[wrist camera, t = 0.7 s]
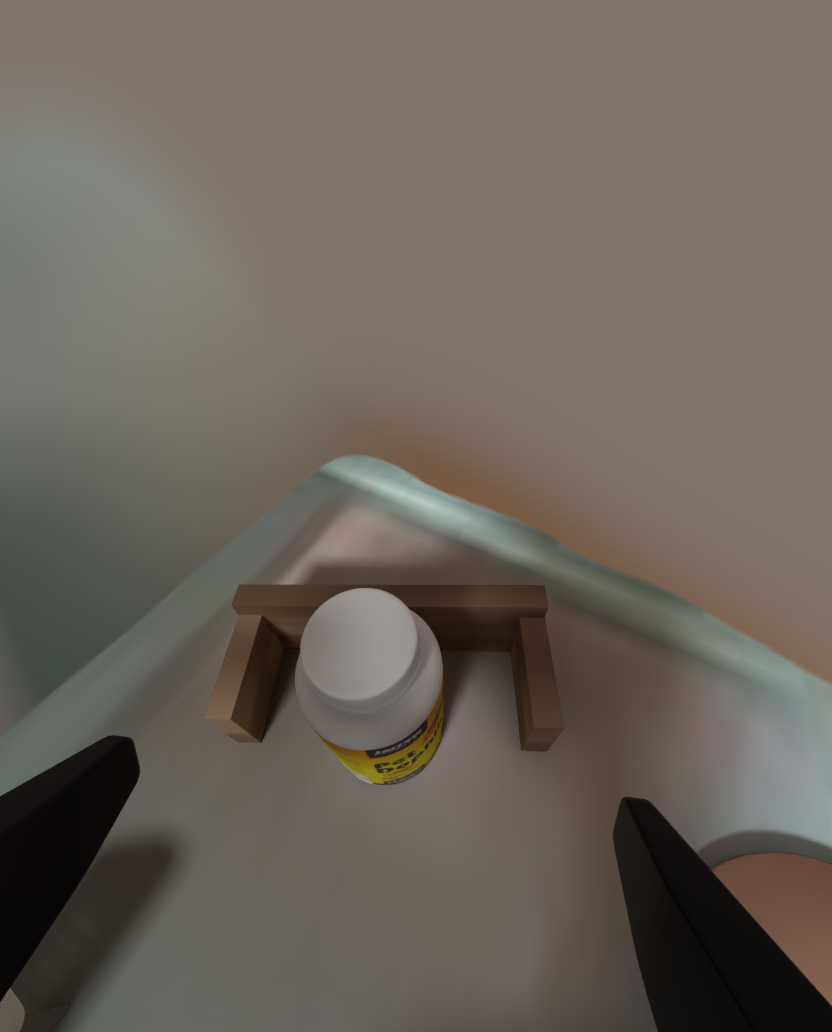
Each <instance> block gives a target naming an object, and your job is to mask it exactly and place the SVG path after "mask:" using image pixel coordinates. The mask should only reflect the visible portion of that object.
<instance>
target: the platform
mask: <svg viewBox="0 0 832 1032" xmlns="http://www.w3.org/2000/svg"><path fill="white" fill-rule="evenodd" d="M68 1008H69V1005H68V1004H64V1005H60V1006H57V1007H54V1008H51V1009H47V1010H44V1011H41V1012H38V1013H35V1014H31V1015H28V1016H25V1012H24V1007H23V1005H22V1004H21V1002H20V1001H19V999H18V998H17V997H16V995H15V994H14V992H13V991H12V989H11V988H10V989H9V990H8V992H7V993H6V995H5V996H4V998H3V999H2V1001H1V1002H0V1032H52V1031H53V1029H54V1028H55V1026H56V1025H57V1024H58V1022H59V1021H60V1020H61V1018H62V1017H63V1015H64V1014H65V1013H66V1011H67V1010H68ZM24 1016H25V1017H24Z"/></svg>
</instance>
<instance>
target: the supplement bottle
mask: <svg viewBox="0 0 832 1032" xmlns="http://www.w3.org/2000/svg"><path fill="white" fill-rule="evenodd" d="M295 688H296V696H297V699H298V703H299V706H300V708H301V710H302V713H303V714H304V716H305V718H306V720H307V721H308V723H309V724H310V725H311V727H312V728H313V729H314V730H315V732H316V733H317V734H318V735H319V736H320V737H321V739H322V740H323V741H324V742H325V743H326V745H327V746H328V747H329V748H330V749H331V751H332V752H333V753H334V754H335V755H336V756H337V757H338V759H339V760H340V761H341V762H342V763H343V765H344V766H345V767H346V768H347V769H348V770H349V771H350V772H351V773H352V774H353V775H355V776H356V777H357V778H359V779H361V780H363V781H365V782H367V783H370V784H374V785H379V786H391V785H397V784H401V783H403V782H406V781H408V780H410V779H412V778H414V777H415V776H416V775H418V774H419V773H420V772H421V771H423V770H424V769H425V768H426V767H427V765H428V764H429V763H430V762H431V760H432V759H433V757H434V755H435V753H436V751H437V749H438V747H439V744H440V741H441V737H442V731H443V688H444V687H443V664H442V657H441V651H440V648H439V645H438V642H437V640H436V638H435V636H434V634H433V632H432V630H431V629H430V627H429V626H428V625H427V624H426V623H425V621H424V620H423V619H422V618H421V617H419V616H418V615H417V614H416V613H414V612H413V611H411V610H410V609H408V607H407V606H406V605H405V604H404V603H403V602H402V601H401V600H400V599H398V598H397V597H396V596H394V595H392V594H390V593H388V592H386V591H383V590H380V589H374V588H357V589H352V590H348V591H345V592H342V593H340V594H337V595H336V596H334V597H332V598H330V599H329V600H327V601H326V602H325V603H324V604H322V605H321V606H320V607H319V608H318V609H317V610H316V611H315V613H314V614H313V615H312V616H311V618H310V619H309V621H308V623H307V625H306V627H305V629H304V632H303V635H302V639H301V646H300V655H299V658H298V661H297V666H296V671H295Z"/></svg>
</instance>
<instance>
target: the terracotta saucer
mask: <svg viewBox="0 0 832 1032" xmlns="http://www.w3.org/2000/svg"><path fill="white" fill-rule="evenodd" d="M710 869H711V870H712V871H713V873H714V874H715V875H716V876H717V877H718V878H719V879H720V880H721V882H722V883H723V884H724V885H725V886H726V887H727V888H728V889H729V891H730V892H731V893H732V894H733V895H734V896H735V897H736V898H737V900H738V901H739V902H740V903H741V904H742V905H743V906H744V907H745V909H746V910H747V911H748V912H749V913H750V914H751V915H752V916H753V918H754V919H755V920H756V921H757V922H758V923H759V924H760V925H761V927H762V928H763V929H764V930H765V931H766V932H767V933H768V934H769V936H770V937H771V938H772V939H773V940H774V941H775V942H776V943H777V945H778V946H779V947H780V948H781V949H782V950H783V951H784V952H785V954H786V955H787V956H788V957H789V958H790V959H791V960H792V961H793V963H794V964H795V965H796V966H797V967H798V968H799V969H800V970H801V972H802V973H803V974H804V975H805V976H806V977H807V978H808V979H809V981H810V982H811V983H812V984H813V985H814V986H815V987H816V988H817V990H818V991H819V992H820V993H821V994H822V995H823V996H824V997H825V999H826V1000H827V1001H828V1002H829V1003H830V1004H831V1005H832V864H829V863H826V862H823V861H820V860H817V859H814V858H809V857H804V856H800V855H795V854H785V853H763V854H753V855H743V856H739V857H735V858H732V859H728V860H725V861H723V862H721V863H719V864H717V865H715V866H713V867H711V868H710Z"/></svg>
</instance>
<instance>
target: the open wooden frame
mask: <svg viewBox="0 0 832 1032" xmlns="http://www.w3.org/2000/svg"><path fill="white" fill-rule="evenodd" d="M357 588H374V589H380V590H383V591H386V592H388V593H390V594H392V595H394V596H396V597H397V598H398V599H400V600H401V601H402V602H403V603H404V604H405V605H406V606H407V607H408V609H410V610H411V611H413V612H414V613H416V614H417V615H418V616H419V617H421V618H422V619H423V620H424V621H425V623H426V624H427V625H428V626H429V627H430V629H431V630H432V632H433V634H434V636H435V638H436V640H437V642H438V645H439V648H440V650H475V651H511V658H512V667H513V676H514V686H515V695H516V704H517V714H518V723H519V732H520V741H521V750H526V751H547V750H548V749H549V747H550V746H551V745H552V743H553V742H554V741H555V739H556V738H557V736H558V735H559V734H560V732H561V731H562V730H563V723H562V717H561V711H560V705H559V699H558V693H557V688H556V682H555V676H554V670H553V664H552V658H551V652H550V646H549V641H548V635H547V629H546V623H545V615H546V612H547V610H548V604H547V598H546V593H545V587H544V586H533V585H239V586H238V589H237V592H236V594H235V597H234V600H233V603H232V607H233V608H234V609H235V610H236V612H237V613H238V614H239V617H238V620H237V623H236V626H235V628H234V631H233V634H232V637H231V640H230V643H229V646H228V649H227V652H226V655H225V658H224V661H223V664H222V667H221V670H220V673H219V676H218V679H217V682H216V685H215V688H214V691H213V694H212V696H211V699H210V702H209V705H208V708H207V711H206V714H205V717H204V719H205V720H206V721H208V722H209V723H211V724H212V725H214V726H215V727H217V728H218V729H220V730H221V731H223V732H224V733H226V734H227V735H228V736H230V737H231V738H233V739H234V740H236V741H237V742H258V743H261V740H262V736H263V732H264V728H265V724H266V720H267V716H268V712H269V708H270V704H271V700H272V696H273V692H274V688H275V684H276V680H277V676H278V672H279V668H280V664H281V660H282V656H283V652H284V648H300V646H301V639H302V635H303V632H304V629H305V627H306V625H307V623H308V621H309V619H310V618H311V616H312V615H313V614H314V613H315V611H316V610H317V609H318V608H319V607H320V606H321V605H322V604H324V603H325V602H326V601H327V600H329V599H330V598H332V597H334V596H336V595H337V594H340V593H342V592H345V591H348V590H352V589H357Z"/></svg>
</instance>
